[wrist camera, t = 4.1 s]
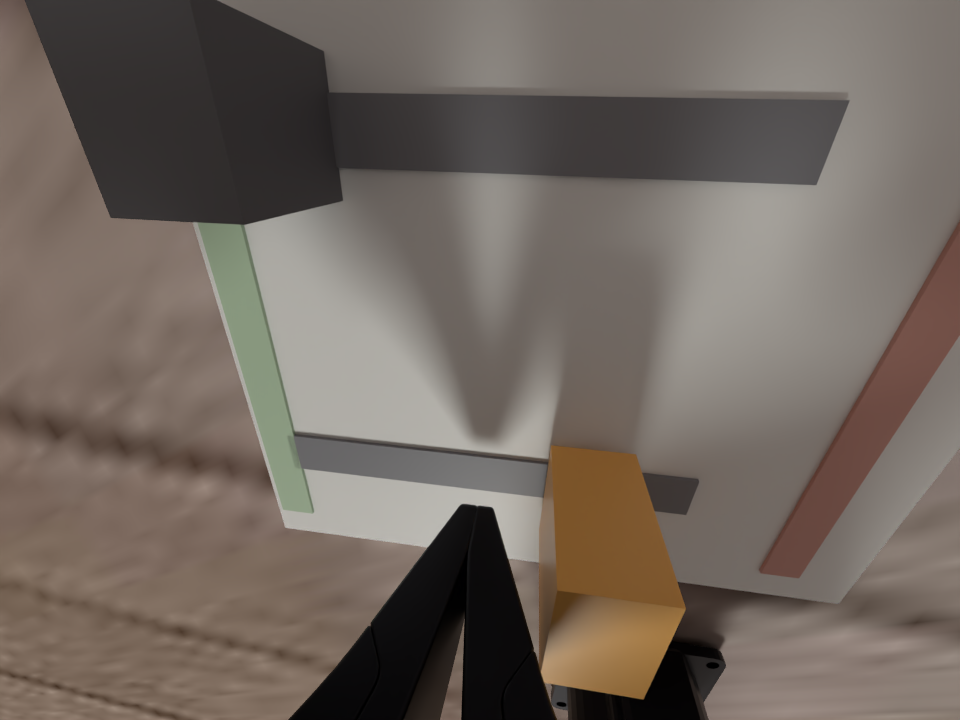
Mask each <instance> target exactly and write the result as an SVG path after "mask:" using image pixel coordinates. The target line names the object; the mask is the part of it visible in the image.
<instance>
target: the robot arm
mask: <svg viewBox="0 0 960 720" xmlns="http://www.w3.org/2000/svg"><path fill="white" fill-rule="evenodd" d="M464 619H465V623H464ZM463 623H464V654H463V686H462V717H461V720H557V718H556V716H555V713H554V710H553V708H552V705H553V706H554V707H555V708H558V709H563V710H568V720H708V716H707V713H706V710H705V706H704V701H705V699H706V698H707V696H708V695H709V693H710V691H711V690H712V688H713V687H714V685H715V683H716V682H717V680H718V679H719V677H720V675H721V674H722V672H723V671H724V669H725V667H726V664H725V661H724V658H723V656H722V653H721V652H720V651H719V650H717V649H713V648H707V647H701V646H694V645H688V644H681V643H675V642H670V644H669V646H668V648H667V651H666V653H665V655H664V657H663V659H662V661H661V663H660V665H659V668H658V670H657V672H656V674H655V676H654V678H653V680H652V682H651V685H650V687H649V689H648V691H647V693H646V695H645V697H644V699H637V698H631V697H625V696H619V695H614V694H608V693H602V692H596V691H590V690H584V689H578V688H572V687H566V686H560V685H555V684H553V687H552V691H551V702H550V699H549V696H548V693H547V690H546V687H545V683H544V680H543V677H542V674H541V671H540V667H539V664H538V660H537V657H536V653H535V652H534V647H533V644H532V640H531V637H530V633H529V630H528V626H527V623H526V619H525V616H524V612H523V609H522V605H521V602H520V598H519V595H518V591H517V588H516V584H515V581H514V578H513V574H512V571H511V567H510V564H509V560H508V557H507V553H506V550H505V546H504V543H503V539H502V536H501V532H500V529H499V525H498V522H497V518H496V515H495V511H494V509H493V508H492V507H488V506H476V505H471V504H461V505H460V506H459V507H458V508H457V510H456V511H455V512H454V514H453V515H452V516H451V517H450V519H449V520H448V521H447V523H446V524H445V525H444V527H443V528H442V529H441V531H440V532H439V533H438V535H437V536H436V537H435V539H434V540H433V541H432V543H431V544H430V545H429V546H428V548H427V549H426V550H425V552H424V553H423V554H422V556H421V557H420V558H419V560H418V561H417V562H416V564H415V565H414V566H413V568H412V569H411V570H410V572H409V573H408V574H407V575H406V577H405V578H404V579H403V581H402V582H401V583H400V585H399V586H398V587H397V589H396V590H395V591H394V593H393V594H392V595H391V597H390V598H389V599H388V601H387V602H386V603H385V605H384V606H383V607H382V608H381V610H380V611H379V612H378V614H377V615H376V616H375V618H374V619H373V620H372V622H371V626H368V627H367V628H366V629H365V631H364V632H363V633H362V635H361V636H360V637H359V639H358V640H357V641H356V643H355V644H354V645H353V646H352V648H351V649H350V650H349V651H348V653H347V654H346V655H345V656H344V658H343V659H342V660H341V661H340V663H339V664H338V665H337V666H336V667H335V669H334V670H333V671H332V672H331V673H330V674H329V675H328V677H327V678H326V679H325V680H324V681H323V682H322V683H321V684H320V686H319V687H318V688H317V689H316V690H315V691H314V692H313V693H312V695H311V696H310V697H309V698H308V699H307V700H306V701H305V702H304V703H303V704H302V705H301V707H300V708H299V709H298V710H297V711H296V712H295V713H294V714H293V715H292V716H291V717H290V718H289V720H440V717H441V713H442V709H443V705H444V701H445V696H446V692H447V688H448V684H449V680H450V676H451V672H452V668H453V664H454V660H455V655H456V651H457V647H458V643H459V639H460V635H461V631H462V627H463ZM551 704H552V705H551Z"/></svg>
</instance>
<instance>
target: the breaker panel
mask: <svg viewBox="0 0 960 720" xmlns="http://www.w3.org/2000/svg"><path fill="white" fill-rule="evenodd" d="M25 2H26V5H27V7H28V10H29V12H30V15H31V17H32V20H33V22H34V25H35V27H36V30H37V32H38V35H39V37H40V40H41V43H42V45H43V48H44V50H45V53H46V55H47V58H48V60H49V63H50V65H51V68H52V70H53V73H54V75H55V78H56V80H57V83H58V85H59V88H60V91H61V93H62V96H63V98H64V101H65V103H66V106H67V108H68V111H69V113H70V116H71V118H72V121H73V123H74V126H75V128H76V131H77V134H78V136H79V139H80V141H81V144H82V146H83V149H84V151H85V154H86V156H87V159H88V161H89V164H90V166H91V169H92V171H93V174H94V176H95V179H96V182H97V184H98V187H99V189H100V192H101V194H102V197H103V199H104V202H105V204H106V207H107V209H108V212H109V214H110V217H111V218H124V219H143V220H161V221H180V222H193V225H194V228H195V232H196V235H197V238H198V241H199V245H200V248H201V251H202V255H203V258H204V261H205V265H206V268H207V271H208V274H209V278H210V281H211V284H212V288H213V291H214V294H215V297H216V301H217V304H218V307H219V311H220V314H221V317H222V320H223V324H224V327H225V330H226V334H227V337H228V340H229V344H230V347H231V350H232V353H233V357H234V360H235V363H236V367H237V370H238V373H239V376H240V380H241V383H242V386H243V390H244V393H245V396H246V399H247V403H248V406H249V409H250V413H251V416H252V419H253V422H254V426H255V429H256V432H257V436H258V439H259V442H260V446H261V449H262V452H263V455H264V459H265V462H266V465H267V469H268V472H269V475H270V478H271V482H272V485H273V488H274V492H275V495H276V498H277V501H278V505H279V508H280V511H281V515H282V518H283V521H284V525H285V528H291V529H299V530H306V531H313V532H320V533H328V534H335V535H342V536H349V537H357V538H364V539H371V540H378V541H386V542H393V543H400V544H407V545H415V546H422V547H428V546H429V545H430V544H431V543H432V541H433V540H434V539H435V537H436V536H437V535H438V533H439V532H440V531H441V529H442V528H443V527H444V525H445V524H446V523H447V521H448V520H449V519H450V517H451V516H452V515H453V514H454V512H455V511H456V510H457V508H458V507H459V506H460V505H461V504H471V505H476V506H488V507H492V508H493V509H494V511H495V515H496V518H497V522H498V525H499V529H500V532H501V536H502V539H503V543H504V546H505V550H506V553H507V557H508V558H509V559H516V560H523V561H530V562H538V563H539V526H540V519H541V512H542V505H543V498H544V491H545V484H546V477H547V470H548V463H549V456H550V449H551V445H553V446H563V447H572V448H582V449H591V450H600V451H610V452H619V453H628V454H636V456H637V459H638V462H639V465H640V468H641V471H642V474H643V477H644V480H645V483H646V487H647V490H648V493H649V496H650V499H651V502H652V505H653V508H654V511H655V514H656V517H657V521H658V524H659V527H660V530H661V533H662V536H663V539H664V542H665V545H666V548H667V551H668V555H669V558H670V561H671V564H672V567H673V570H674V573H675V576H676V579H677V582H682V583H690V584H697V585H704V586H711V587H719V588H726V589H733V590H740V591H747V592H755V593H762V594H769V595H776V596H784V597H791V598H798V599H805V600H813V601H820V602H827V603H834V604H839V603H840V602H841V600H842V599H843V598H844V596H845V595H846V594H847V593H848V591H849V590H850V589H851V587H852V586H853V585H854V584H855V582H856V581H857V580H858V578H859V577H860V576H861V575H862V573H863V572H864V571H865V569H866V568H867V567H868V566H869V564H870V563H871V562H872V560H873V559H874V558H875V557H876V555H877V554H878V553H879V551H880V550H881V549H882V548H883V546H884V545H885V544H886V542H887V541H888V540H889V539H890V537H891V536H892V535H893V533H894V532H895V531H896V530H897V528H898V527H899V526H900V524H901V523H902V522H903V521H904V519H905V518H906V517H907V515H908V514H909V513H910V512H911V510H912V509H913V508H914V506H915V505H916V504H917V503H918V501H919V500H920V499H921V497H922V496H923V495H924V493H925V492H926V491H927V490H928V488H929V487H930V486H931V484H932V483H933V482H934V481H935V479H936V478H937V477H938V475H939V474H940V473H941V472H942V470H943V469H944V468H945V466H946V465H947V464H948V463H949V461H950V460H951V459H952V457H953V456H954V455H955V454H956V452H957V451H958V450H959V448H960V0H25Z"/></svg>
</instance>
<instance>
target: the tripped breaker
mask: <svg viewBox="0 0 960 720" xmlns="http://www.w3.org/2000/svg"><path fill="white" fill-rule="evenodd" d="M685 610H686V607H685V604H684V601H683V598H682V595H681V592H680V589H679V585H678V582H677V579H676V576H675V573H674V570H673V567H672V564H671V561H670V558H669V555H668V551H667V548H666V545H665V542H664V539H663V536H662V533H661V530H660V527H659V524H658V521H657V517H656V514H655V511H654V508H653V505H652V502H651V499H650V496H649V493H648V490H647V487H646V483H645V480H644V477H643V474H642V471H641V468H640V465H639V462H638V459H637V456H636V454H628V453H619V452H610V451H600V450H591V449H582V448H572V447H563V446H553V445H551V449H550V456H549V463H548V470H547V477H546V484H545V491H544V498H543V505H542V512H541V519H540V526H539V667H540V671H541V674H542V677H543V680H544V683H549V684H555V685H560V686H566V687H572V688H578V689H584V690H590V691H596V692H602V693H608V694H614V695H619V696H625V697H631V698H637V699H644V697H645V695H646V693H647V691H648V689H649V687H650V685H651V682H652V680H653V678H654V676H655V674H656V672H657V670H658V668H659V665H660V663H661V661H662V659H663V657H664V655H665V653H666V651H667V648H668V646H669V644H670V642H671V640H672V638H673V636H674V634H675V631H676V629H677V627H678V625H679V623H680V621H681V619H682V617H683V614H684V612H685Z"/></svg>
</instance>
